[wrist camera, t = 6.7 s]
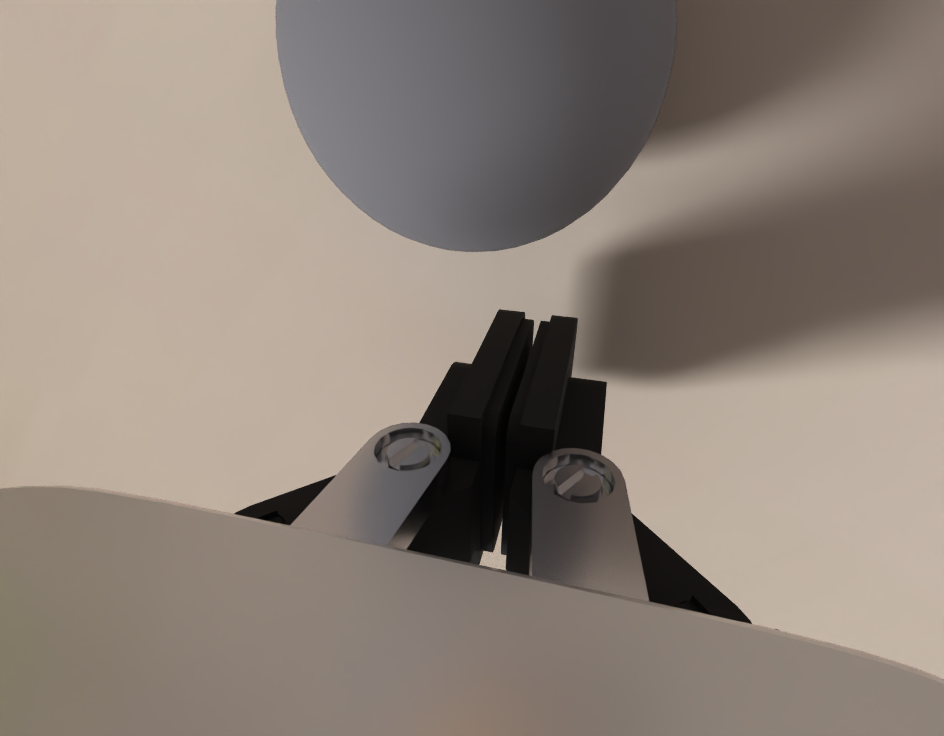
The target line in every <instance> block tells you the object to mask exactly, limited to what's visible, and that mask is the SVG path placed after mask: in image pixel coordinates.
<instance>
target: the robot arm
mask: <svg viewBox="0 0 944 736" xmlns="http://www.w3.org/2000/svg"><path fill="white" fill-rule="evenodd" d="M577 322H578V318H572V317H563V316H554V315H552V317H551V320H550V322H547V321H541V322H540V325H539V328H538V331H537V335H536V338H535V341H534V344H533V330H534V320H529V319H525V312H518V311H509V310H500V309H499V311H498V312H497V314H496V316H495V318H494V320H493V322H492V324H491V326H490V328H489V330H488V332H487V334H486V336H485V338H484V341H483V343H482V345H481V347H480V349H479V351H478V353H477V355H476V357H475V359H474V361H473V363H472V364H467V363H460V362H454V363H453V364H452V365H451V367H450V369H449V371H448V372H447V374H446V376H445V378H444V380H443V381H442V383H441V385H440V387H439V389H438V390H437V392H436V394H435V396H434V397H433V399H432V401H431V403H430V405H429V406H428V408H427V410H426V412H425V414H424V415H423V417H422V419H421V421H420V423H401V424H397V425H392V426H389V427H387V428H385V429H383V430H381V431H379V432H378V433H376V434H375V435H374V436H373V437H371V438H370V439H369V441H368V442H367V443H366V444H365V445H364V446H363V447H362V448H361V449H360V450H359V451H358V452H357V454H356V455H355V456H354V457H353V458H352V459H351V460H350V461H349V462H348V463H347V464H346V465H345V467H344V468H343V469H342V470H341V471H340V472H339V473H338V474H337V475H335V476H332V477H330V478H327V479H324V480H321V481H318V482H316V483H313V484H310V485H307V486H304V487H302V488H299V489H296V490H293V491H290V492H288V493H285V494H282V495H279V496H277V497H274V498H271V499H268V500H265V501H263V502H260V503H257V504H254V505H251V506H249V507H247V508H245V509H243V510H240V511H238V512H236V513H235V514H231V513H226V512H221V511H216V510H211V509H206V508H201V507H196V506H191V505H186V504H182V503H177V502H172V501H167V500H162V499H156V498H150V497H144V496H138V495H132V494H126V493H120V492H114V491H107V490H101V489H95V488H83V487H72V486H20V487H11V488H2V489H0V736H944V679H942V678H939V677H937V676H934V675H932V674H929V673H927V672H924V671H922V670H919V669H917V668H914V667H910V666H907V665H904V664H901V663H898V662H895V661H891V660H888V659H885V658H882V657H879V656H875V655H872V654H869V653H866V652H863V651H859V650H855V649H851V648H847V647H843V646H839V645H835V644H831V643H827V642H823V641H819V640H815V639H811V638H807V637H803V636H799V635H795V634H791V633H787V632H783V631H780V630H777V629H771V628H767V627H763V626H759V625H754V624H752V623H751V621H750V620H749V619H748V618H747V617H746V615H745V614H744V613H743V612H742V611H741V610H740V609H739V608H738V607H737V606H736V605H735V604H734V603H733V602H732V601H731V600H729V599H728V598H727V597H726V596H725V595H724V594H723V593H721V592H720V591H719V590H718V589H717V588H716V587H715V586H714V585H712V584H711V583H710V582H709V581H708V580H707V579H706V578H704V577H703V576H702V575H701V574H700V573H699V572H698V571H697V570H695V569H694V568H693V567H692V566H691V565H690V564H689V563H687V562H686V561H685V560H684V559H683V558H682V557H681V556H679V555H678V554H677V553H676V552H675V551H674V550H673V549H672V548H670V547H669V546H668V545H667V544H666V543H665V542H664V541H662V540H661V539H660V538H659V537H658V536H657V535H656V534H655V533H653V532H652V531H651V530H650V529H649V528H648V527H647V526H645V525H644V524H643V523H642V522H641V521H640V520H639V519H638V518H636V517H635V516H634V515H633V514H632V513H631V508H630V503H629V498H628V493H627V488H626V483H625V480H624V477H623V475H622V473H621V470H620V469H619V468H618V467H617V466H616V465H615V464H614V463H613V462H612V461H610V460H609V459H607V458H606V457H604V456H603V455H601V449H602V436H603V423H604V411H605V398H606V385H607V382H603V381H595V380H587V379H580V378H572V377H571V375H572V366H573V358H574V349H575V340H576V332H577ZM532 345H533V347H532ZM501 522H502V541H501V554H503V555H507V556H506V570H507V571H505V570H501V569H496V568H491V567H486V566H482V565H479V564H480V560H481V557H482V554H483V551H488V552H493V551H494V548H495V544H496V541H497V537H498V533H499V530H500V526H501Z"/></svg>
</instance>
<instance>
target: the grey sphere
mask: <svg viewBox="0 0 944 736" xmlns="http://www.w3.org/2000/svg"><path fill="white" fill-rule="evenodd" d="M676 29H677V20H676V0H277V1H276V38H277V48H278V57H279V62H280V67H281V72H282V77H283V82H284V87H285V90H286V94H287V97H288V100H289V104H290V107H291V110H292V112H293V115H294V117H295V120H296V122H297V125H298V127H299V129H300V131H301V133H302V135H303V137H304V140H305V142H306V144H307V145H308V147H309V149H310V150H311V152H312V154H313V155H314V157H315V159H316V160H317V162H318V163H319V165H320V166H321V167H322V169H323V170H324V172H325V173H326V174H327V176H328V177H329V178H330V179H331V180H332V182H333V183H334V184H335V185H336V186H337V187H338V188H339V190H340V191H341V192H342V193H343V194H344V195H345V196H346V197H348V198H349V199H350V200H351V201H352V202H353V203H354V204H355V205H356V206H357V207H358V208H359V209H361V210H362V211H363V212H364V213H366V214H367V215H368V216H370V217H371V218H372V219H373V220H375V221H377V222H378V223H380V224H381V225H383V226H385V227H386V228H388V229H389V230H391V231H394V232H396V233H398V234H400V235H402V236H404V237H406V238H409V239H412V240H415V241H417V242H420V243H423V244H426V245H429V246H433V247H437V248H442V249H446V250H454V251H465V252H483V251H498V250H504V249H509V248H515V247H518V246H521V245H525V244H528V243H531V242H534V241H537V240H540V239H543V238H545V237H547V236H549V235H551V234H553V233H555V232H557V231H559V230H561V229H563V228H565V227H566V226H568V225H569V224H571V223H572V222H574V221H575V220H577V219H578V218H580V217H581V216H583V215H584V214H585V213H587V212H588V211H590V210H591V209H592V208H593V207H594V206H595V205H596V204H598V203H599V202H600V201H601V200H602V199H603V198H604V197H605V196H606V195H607V194H608V193H609V192H610V191H611V190H612V188H613V187H614V186H615V185H616V184H617V183H618V181H619V180H620V179H621V178H622V177H623V175H624V174H625V173H626V172H627V171H628V170H629V168H630V167H631V165H632V164H633V162H634V161H635V159H636V158H637V156H638V154H639V153H640V151H641V150H642V148H643V147H644V145H645V143H646V141H647V139H648V136H649V134H650V132H651V130H652V128H653V126H654V124H655V122H656V119H657V116H658V114H659V111H660V108H661V105H662V102H663V99H664V96H665V93H666V90H667V87H668V83H669V78H670V73H671V69H672V64H673V59H674V50H675V40H676Z"/></svg>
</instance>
